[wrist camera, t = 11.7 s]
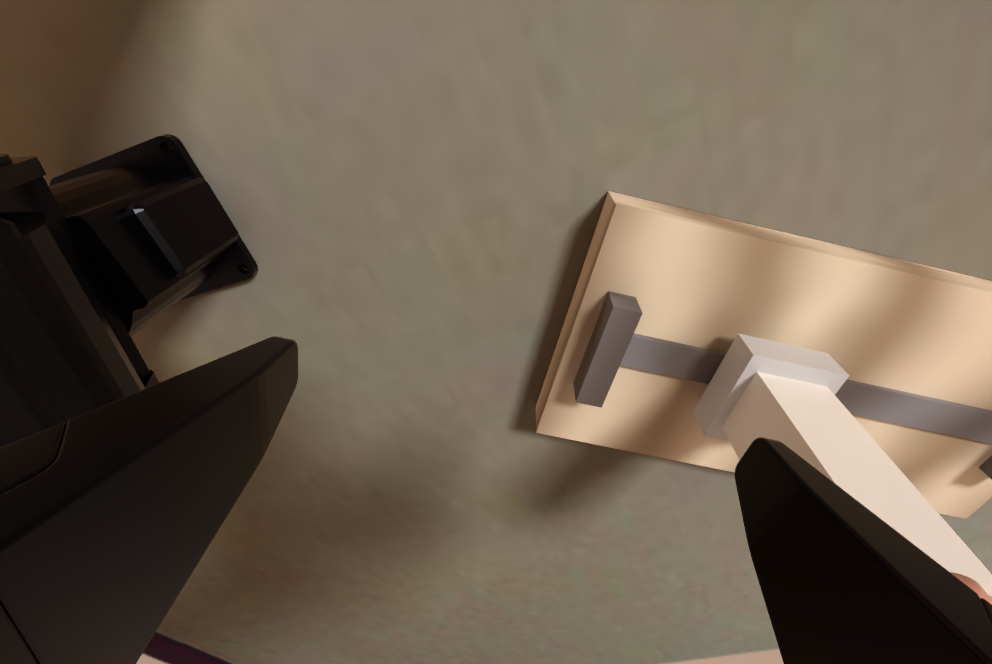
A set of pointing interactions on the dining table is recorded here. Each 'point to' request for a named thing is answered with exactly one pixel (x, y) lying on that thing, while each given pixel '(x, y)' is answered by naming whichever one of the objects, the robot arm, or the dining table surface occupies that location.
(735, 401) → the slider lever
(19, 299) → the robot arm
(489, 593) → the dining table surface
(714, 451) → the slider console
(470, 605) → the dining table surface
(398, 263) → the dining table surface
